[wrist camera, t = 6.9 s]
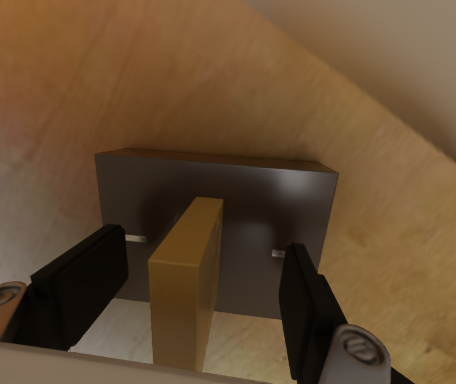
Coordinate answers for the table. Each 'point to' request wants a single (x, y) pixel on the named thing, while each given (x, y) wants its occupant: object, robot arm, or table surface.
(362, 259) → the table surface
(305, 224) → the plate
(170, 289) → the thumbturn
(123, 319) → the table surface
